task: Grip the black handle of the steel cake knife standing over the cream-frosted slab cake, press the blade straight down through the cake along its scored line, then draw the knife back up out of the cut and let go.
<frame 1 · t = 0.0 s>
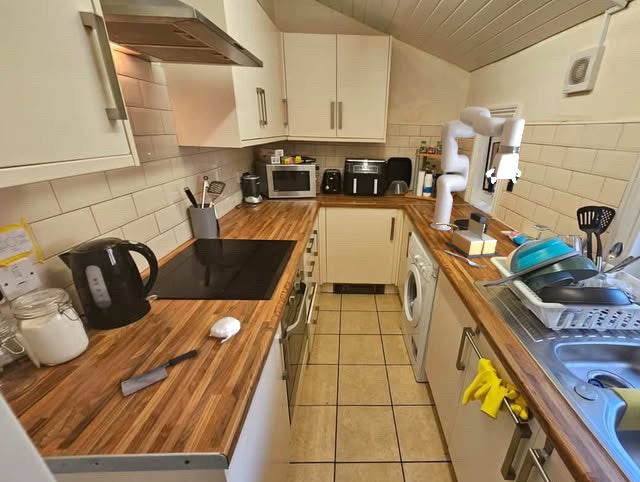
hand: (499, 191, 131), 31 cm above the table, tool pointing down, fingers open, 9 cm apart
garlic: (225, 333, 87), on the table
cleaver: (163, 373, 72), on the table
cake: (471, 249, 152), on the table
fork: (462, 259, 140), on the table
knife: (476, 224, 147), point 13 cm above the table, slide at 0.0 cm
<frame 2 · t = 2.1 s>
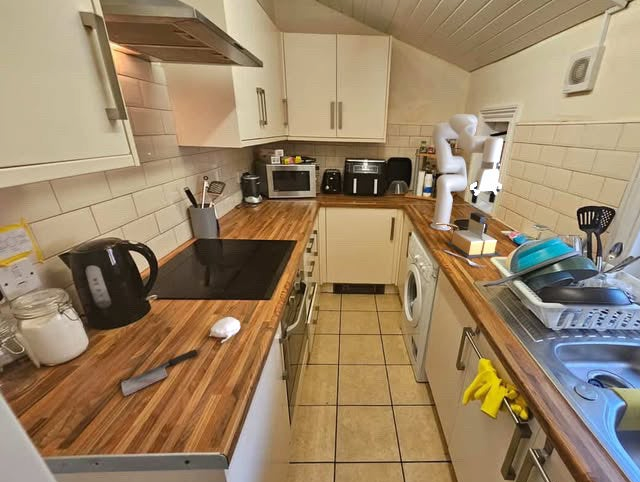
hand: (482, 202, 144), 24 cm above the table, tool pointing down, fingers open, 9 cm apart
nothing on the table moved.
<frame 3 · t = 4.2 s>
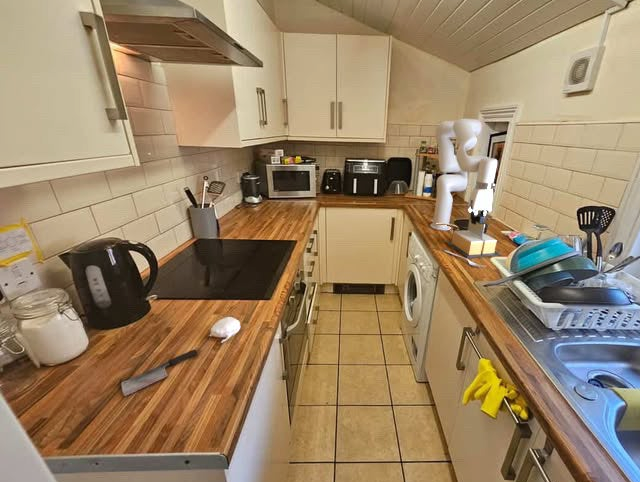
hand: (476, 223, 147), 14 cm above the table, tool pointing down, fingers closed on knife, 3 cm apart
knife: (476, 224, 147), point 13 cm above the table, slide at 0.0 cm, touching gripper
everything else where it was.
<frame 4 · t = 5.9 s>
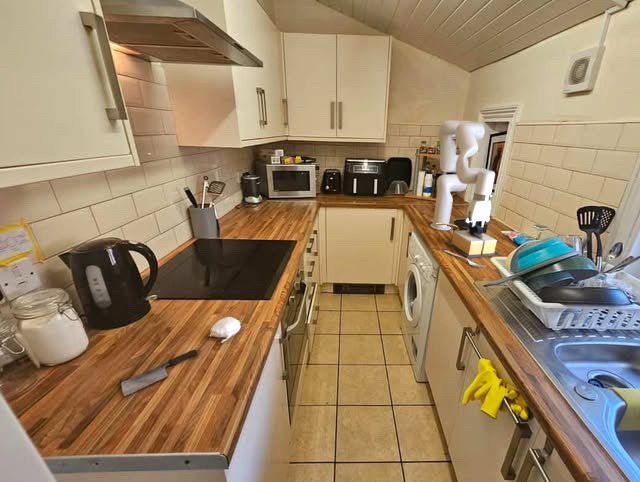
hand: (474, 233, 149), 8 cm above the table, tool pointing down, fingers closed on knife, 3 cm apart
knife: (474, 235, 149), point 8 cm above the table, slide at -5.4 cm, touching gripper
everything else where it was.
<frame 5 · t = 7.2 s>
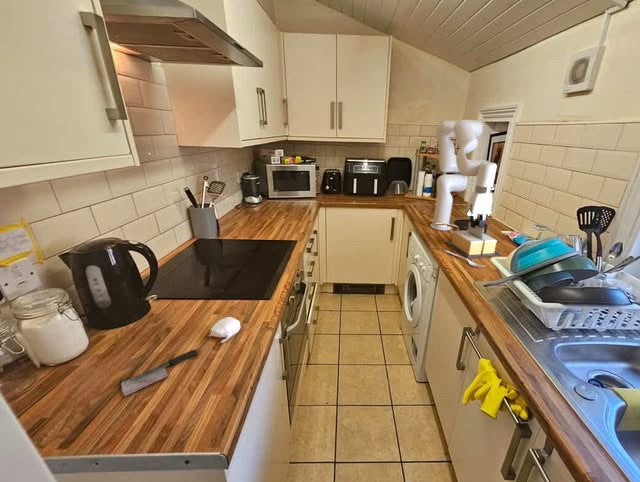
hand: (476, 226, 147), 12 cm above the table, tool pointing down, fingers closed on knife, 3 cm apart
knife: (475, 228, 148), point 11 cm above the table, slide at -1.9 cm, touching gripper
everything else where it was.
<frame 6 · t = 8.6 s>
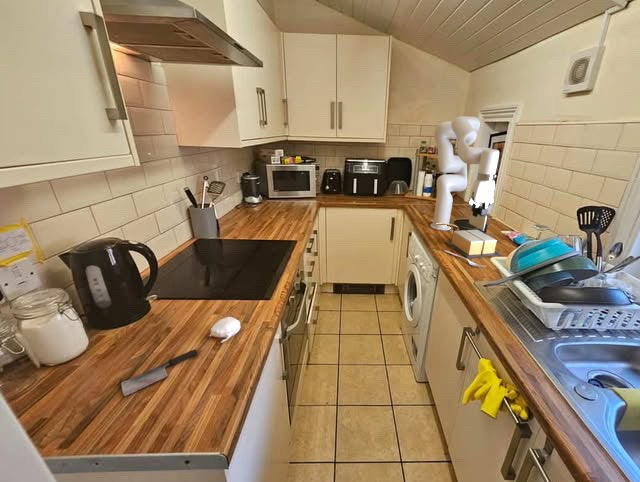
hand: (478, 215, 145), 18 cm above the table, tool pointing down, fingers closed on knife, 3 cm apart
knife: (477, 217, 146), point 17 cm above the table, slide at 3.8 cm, touching gripper
everything else where it was.
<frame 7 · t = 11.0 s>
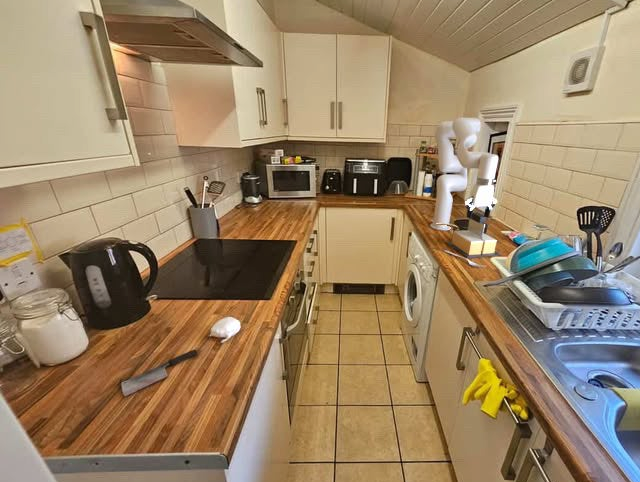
hand: (477, 217, 146), 17 cm above the table, tool pointing down, fingers open, 9 cm apart
knife: (476, 224, 147), point 13 cm above the table, slide at 0.0 cm
everything else where it was.
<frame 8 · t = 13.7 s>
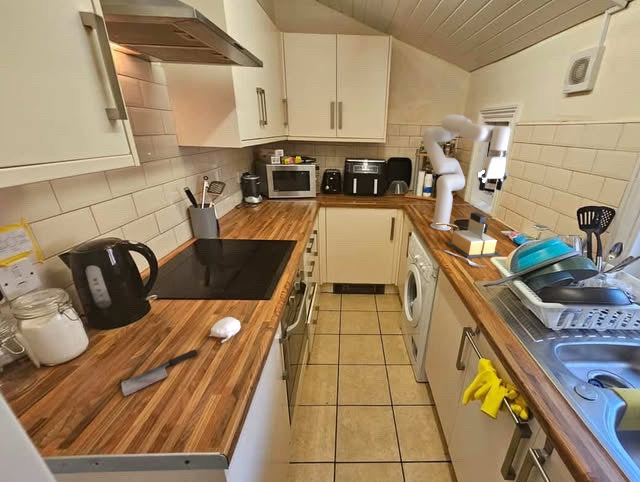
hand: (489, 190, 149), 28 cm above the table, tool pointing down, fingers open, 9 cm apart
nothing on the table moved.
at the end: knife pushed in 5.5 cm at the most during the clip, back to where it started at the end; knife slide at 0.0 cm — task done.
